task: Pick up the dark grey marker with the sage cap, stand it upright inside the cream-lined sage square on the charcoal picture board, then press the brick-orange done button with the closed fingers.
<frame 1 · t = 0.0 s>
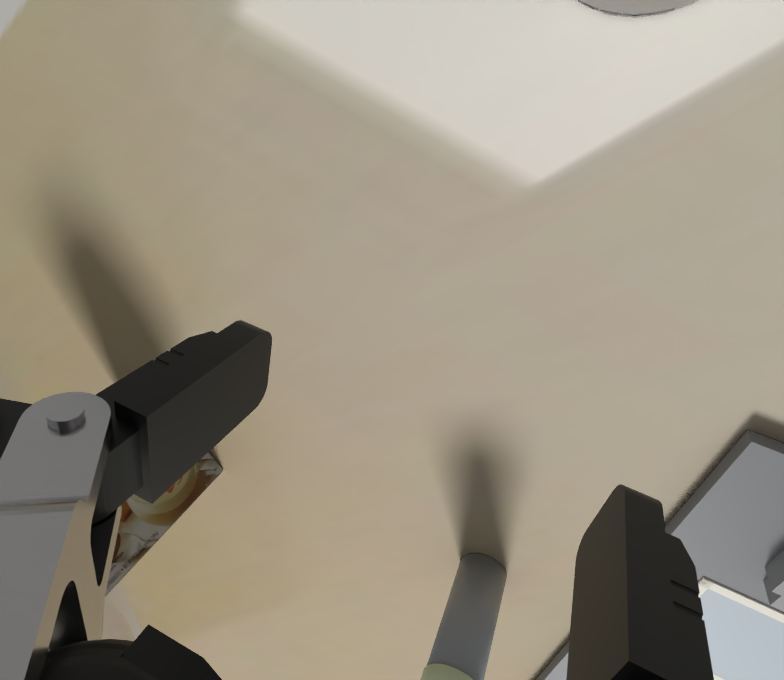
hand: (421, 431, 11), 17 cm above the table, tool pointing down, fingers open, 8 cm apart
coffee box: (178, 440, 46), on the table
picture board: (705, 670, 35), on the table
marker: (482, 570, 38), on the table
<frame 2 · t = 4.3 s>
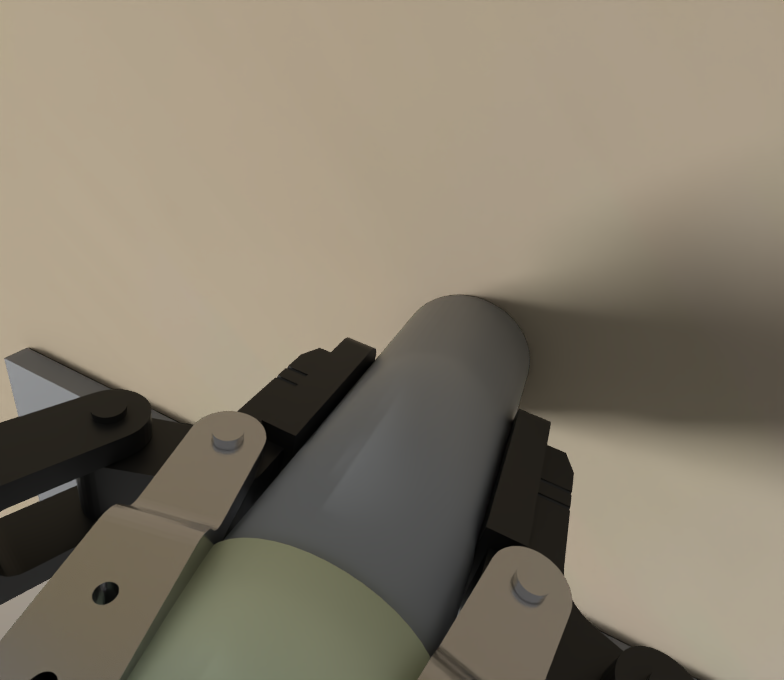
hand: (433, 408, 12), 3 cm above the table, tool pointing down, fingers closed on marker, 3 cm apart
picture board: (380, 653, 22), on the table
marker: (463, 355, 14), on the table, touching gripper
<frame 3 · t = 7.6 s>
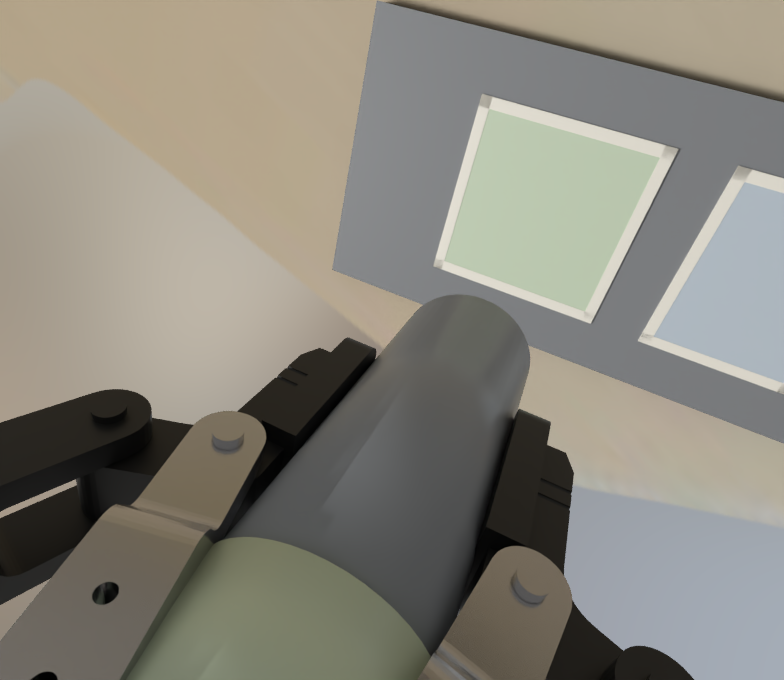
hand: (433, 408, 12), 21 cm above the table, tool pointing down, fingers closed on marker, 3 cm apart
picture board: (664, 250, 28), on the table
marker: (463, 354, 14), point 18 cm above the table, touching gripper
when the fingers open (5 cm above the table, at t = 11.0 s): marker stays where it is, resting on picture board.
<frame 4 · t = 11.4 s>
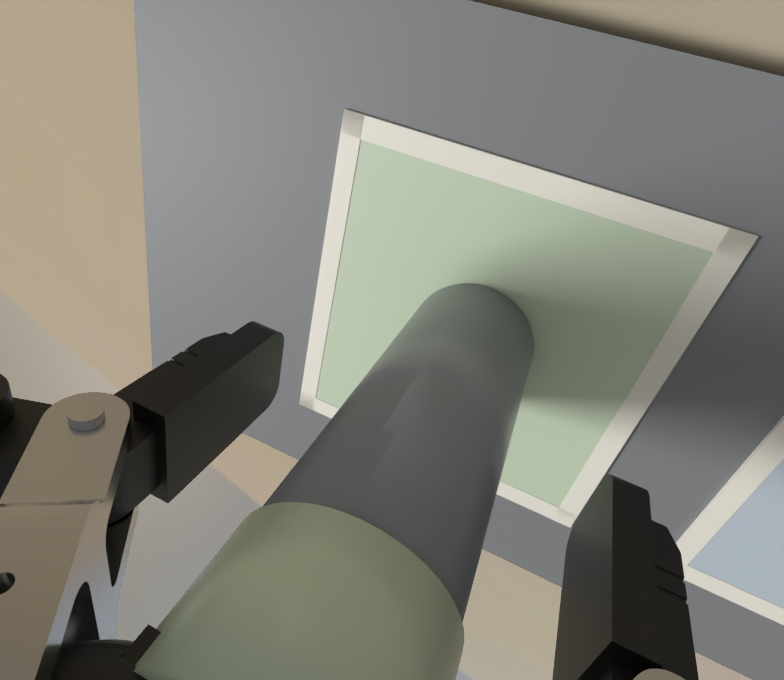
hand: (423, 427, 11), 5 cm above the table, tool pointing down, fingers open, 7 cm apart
picture board: (711, 416, 14), on the table
marker: (470, 341, 15), point 1 cm above the table, touching picture board
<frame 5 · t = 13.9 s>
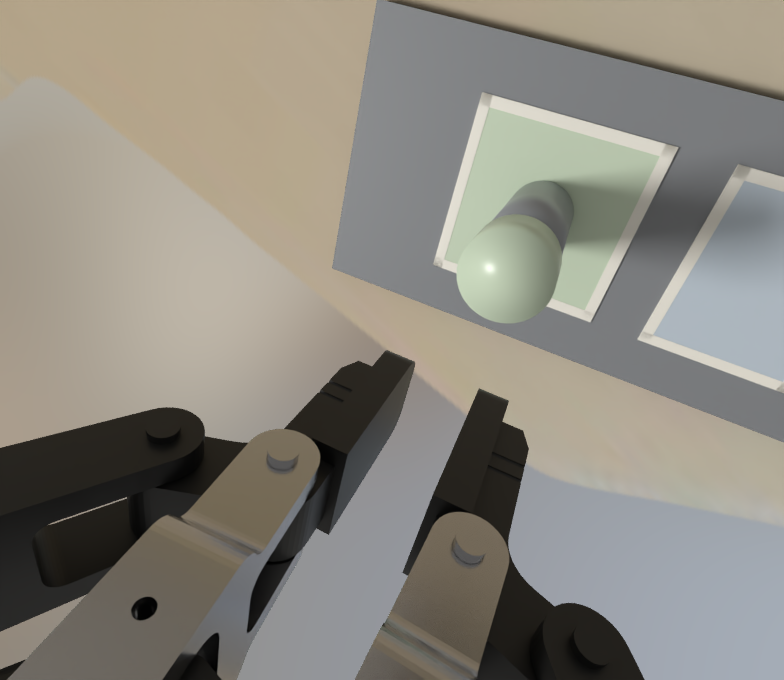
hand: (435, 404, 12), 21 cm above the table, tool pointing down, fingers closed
picture board: (664, 249, 28), on the table
marker: (540, 213, 28), point 1 cm above the table, touching picture board
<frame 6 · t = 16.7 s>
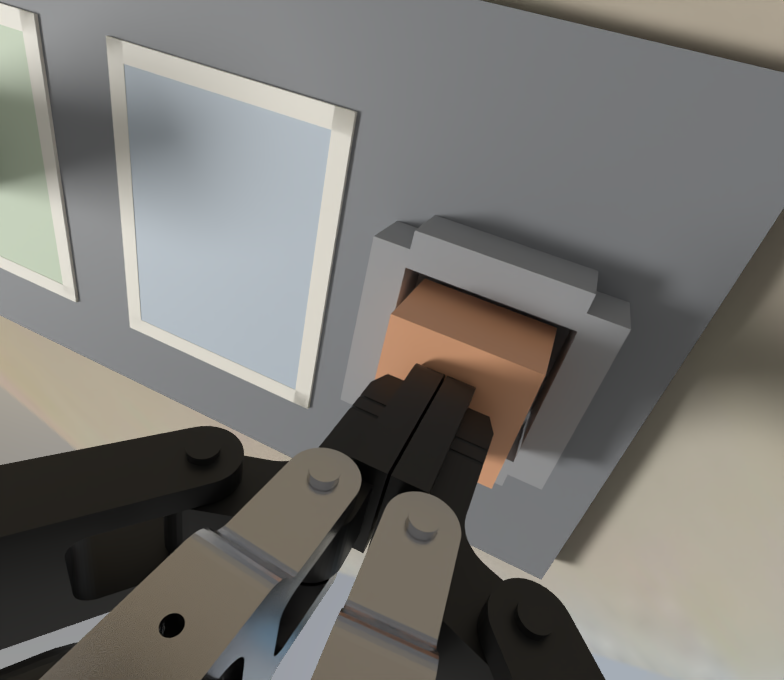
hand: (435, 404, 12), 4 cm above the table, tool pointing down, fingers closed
done button: (457, 380, 13), point 3 cm above the table, slide at 0.4 cm, touching gripper
picture board: (125, 190, 18), on the table
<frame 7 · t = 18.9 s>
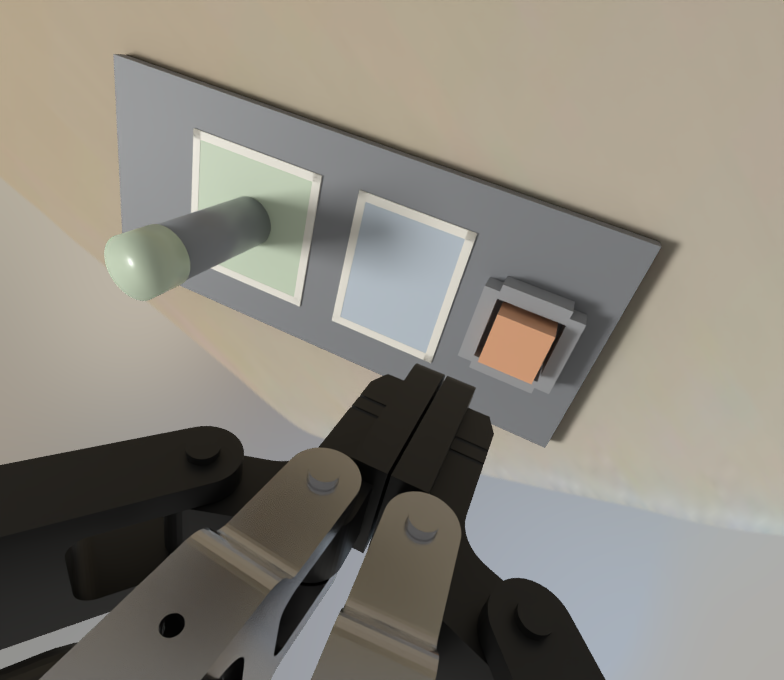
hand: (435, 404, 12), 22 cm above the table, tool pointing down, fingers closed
done button: (517, 341, 32), point 3 cm above the table, slide at 0.9 cm
picture board: (340, 251, 36), on the table
marker: (249, 221, 37), point 1 cm above the table, touching picture board
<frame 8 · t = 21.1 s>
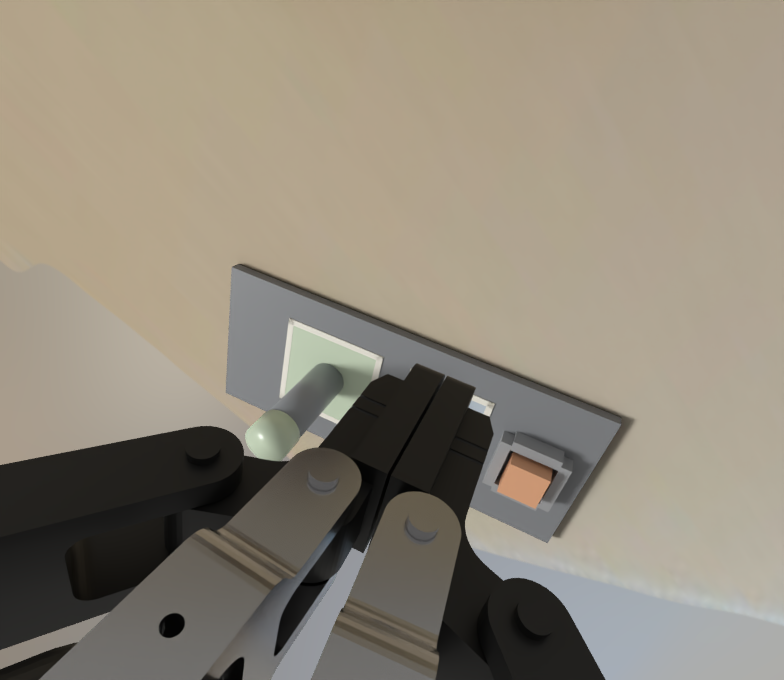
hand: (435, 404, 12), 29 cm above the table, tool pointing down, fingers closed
done button: (525, 477, 45), point 3 cm above the table, slide at 0.9 cm
picture board: (394, 400, 50), on the table
marker: (327, 378, 50), point 1 cm above the table, touching picture board
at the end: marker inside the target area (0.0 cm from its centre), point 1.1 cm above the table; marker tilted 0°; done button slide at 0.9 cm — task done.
